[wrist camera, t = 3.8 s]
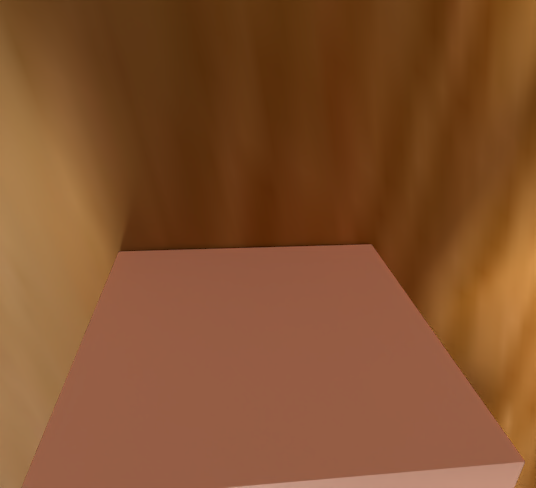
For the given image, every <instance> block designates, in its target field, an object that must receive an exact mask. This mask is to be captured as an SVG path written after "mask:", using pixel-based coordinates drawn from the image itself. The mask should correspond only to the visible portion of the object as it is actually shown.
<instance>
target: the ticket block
mask: <svg viewBox="0 0 536 488" xmlns="http://www.w3.org/2000/svg"><path fill="white" fill-rule="evenodd" d="M524 463H525V461H524V460H523V458H522V457H521V455H520V454H519V452H518V451H517V450H516V448H515V447H514V445H513V444H512V443H511V441H510V440H509V438H508V437H507V435H506V434H505V433H504V431H503V430H502V428H501V427H500V426H499V424H498V423H497V421H496V420H495V418H494V417H493V416H492V414H491V413H490V411H489V410H488V409H487V407H486V406H485V404H484V403H483V401H482V400H481V399H480V397H479V396H478V394H477V393H476V392H475V390H474V389H473V387H472V386H471V384H470V383H469V382H468V380H467V379H466V377H465V376H464V375H463V373H462V372H461V370H460V369H459V367H458V366H457V365H456V363H455V362H454V360H453V359H452V358H451V356H450V355H449V353H448V352H447V350H446V349H445V348H444V346H443V345H442V343H441V342H440V341H439V339H438V338H437V336H436V335H435V333H434V332H433V331H432V329H431V328H430V326H429V325H428V324H427V322H426V321H425V319H424V318H423V316H422V315H421V314H420V312H419V311H418V309H417V308H416V307H415V305H414V304H413V302H412V301H411V299H410V298H409V297H408V295H407V294H406V292H405V291H404V290H403V288H402V287H401V285H400V284H399V282H398V281H397V280H396V278H395V277H394V275H393V274H392V273H391V271H390V270H389V268H388V267H387V265H386V264H385V263H384V261H383V260H382V258H381V257H380V256H379V254H378V253H377V251H376V250H375V248H374V247H373V246H372V244H364V245H329V246H294V247H259V248H224V249H189V250H154V251H120V252H118V255H117V257H116V260H115V262H114V264H113V267H112V269H111V272H110V274H109V277H108V279H107V281H106V284H105V286H104V289H103V291H102V294H101V296H100V298H99V301H98V303H97V306H96V308H95V310H94V313H93V315H92V318H91V320H90V323H89V325H88V327H87V330H86V332H85V335H84V337H83V340H82V342H81V344H80V347H79V349H78V352H77V354H76V356H75V359H74V361H73V364H72V366H71V369H70V371H69V373H68V376H67V378H66V381H65V383H64V386H63V388H62V390H61V393H60V395H59V398H58V400H57V402H56V405H55V407H54V410H53V412H52V415H51V417H50V419H49V422H48V424H47V427H46V429H45V432H44V434H43V436H42V439H41V441H40V444H39V446H38V448H37V451H36V453H35V456H34V458H33V461H32V463H31V465H30V468H29V470H28V473H27V475H26V478H25V480H24V482H23V485H22V487H21V488H514V487H515V484H516V482H517V480H518V477H519V475H520V472H521V470H522V468H523V465H524Z"/></svg>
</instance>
